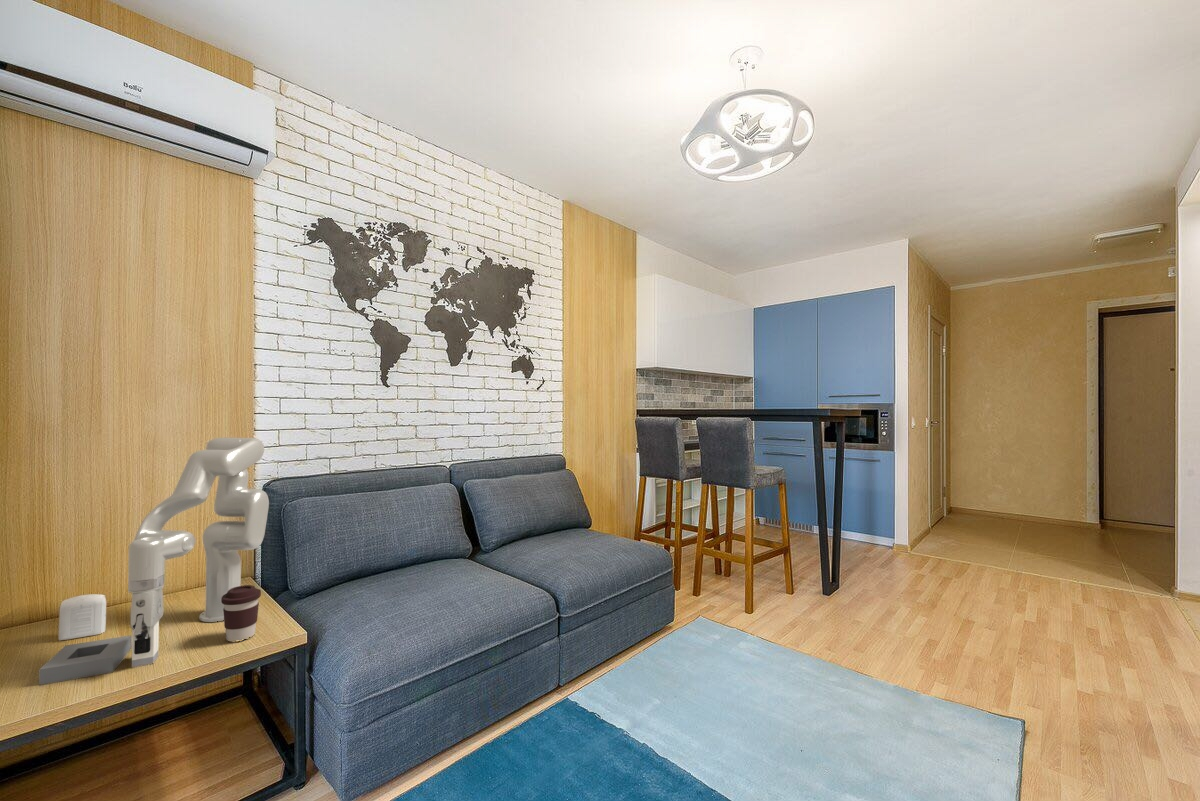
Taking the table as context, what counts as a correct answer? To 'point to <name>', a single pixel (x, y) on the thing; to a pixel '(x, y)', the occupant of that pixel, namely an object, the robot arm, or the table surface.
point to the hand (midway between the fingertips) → (145, 648)
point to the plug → (154, 644)
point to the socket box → (85, 660)
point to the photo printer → (82, 616)
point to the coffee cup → (240, 612)
